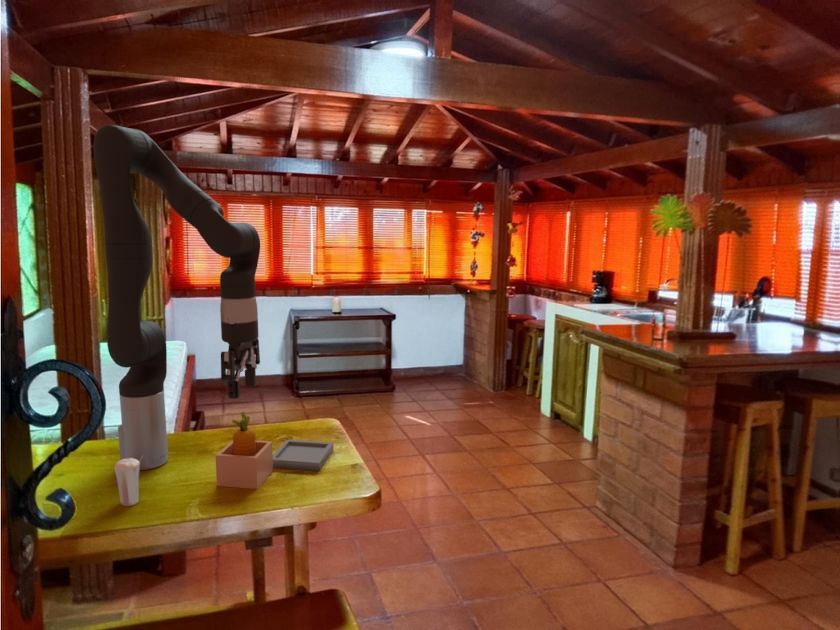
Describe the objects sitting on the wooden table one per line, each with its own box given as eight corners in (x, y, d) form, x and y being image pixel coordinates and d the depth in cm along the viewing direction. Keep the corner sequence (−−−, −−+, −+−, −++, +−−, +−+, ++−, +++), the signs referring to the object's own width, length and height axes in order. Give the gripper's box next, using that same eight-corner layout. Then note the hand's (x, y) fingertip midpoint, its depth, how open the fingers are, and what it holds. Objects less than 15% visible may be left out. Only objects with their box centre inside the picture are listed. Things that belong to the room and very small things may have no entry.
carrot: (250, 484, 127) (248, 418, 124) (229, 481, 128) (227, 416, 125) (261, 474, 132) (259, 410, 129) (241, 472, 133) (238, 408, 130)
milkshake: (141, 507, 116) (138, 460, 115) (113, 508, 116) (109, 460, 114) (150, 496, 121) (146, 451, 119) (123, 497, 120) (119, 451, 119)
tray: (268, 467, 135) (268, 459, 135) (286, 447, 147) (286, 439, 147) (319, 471, 134) (319, 462, 134) (333, 450, 146) (333, 442, 145)
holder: (216, 485, 126) (215, 455, 125) (235, 467, 135) (234, 439, 134) (257, 489, 125) (256, 458, 124) (273, 470, 134) (272, 441, 133)
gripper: (236, 312, 131) (240, 381, 134) (206, 323, 117) (210, 401, 120) (269, 313, 130) (271, 383, 133) (242, 325, 116) (245, 403, 119)
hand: (242, 391), depth 126 cm, fingers open, 8 cm apart
